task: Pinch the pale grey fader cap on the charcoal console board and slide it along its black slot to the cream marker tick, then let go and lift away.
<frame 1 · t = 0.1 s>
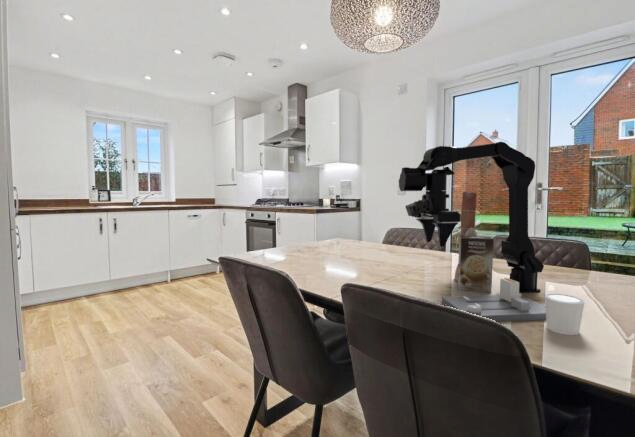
hand: (435, 244, 97), 15 cm above the table, tool pointing down, fingers open, 9 cm apart
console: (496, 310, 83), on the table
vase: (466, 279, 113), on the table
coffee box: (474, 288, 103), on the table
white cup: (562, 330, 71), on the table
fader: (509, 289, 86), point 4 cm above the table, slide at -5.0 cm
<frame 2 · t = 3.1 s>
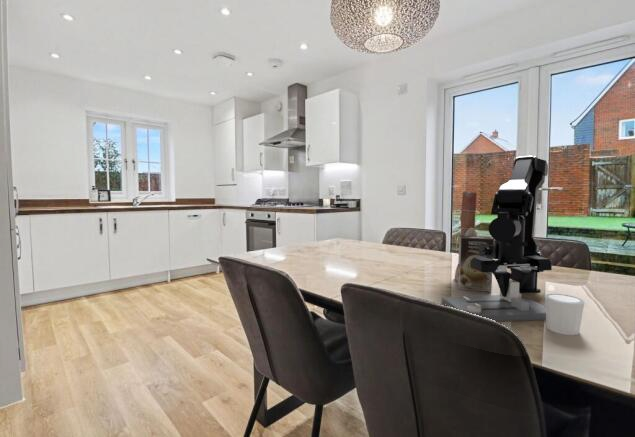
hand: (509, 296, 86), 3 cm above the table, tool pointing down, fingers closed on fader, 2 cm apart
fader: (509, 289, 86), point 4 cm above the table, slide at -5.0 cm, touching gripper
everything else where it was.
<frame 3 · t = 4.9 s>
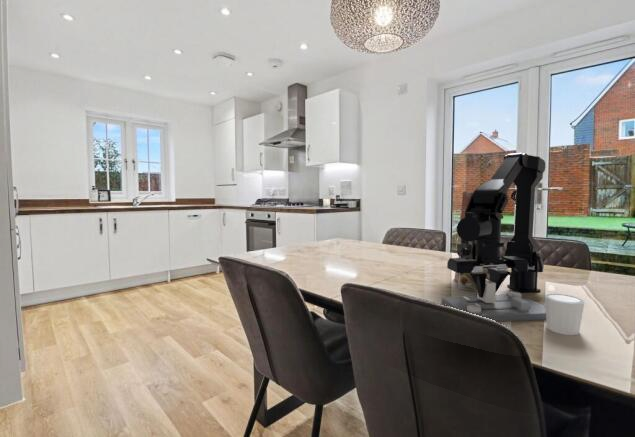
hand: (486, 297, 86), 3 cm above the table, tool pointing down, fingers closed on fader, 2 cm apart
fader: (486, 290, 85), point 4 cm above the table, slide at 1.3 cm, touching gripper
everything else where it was.
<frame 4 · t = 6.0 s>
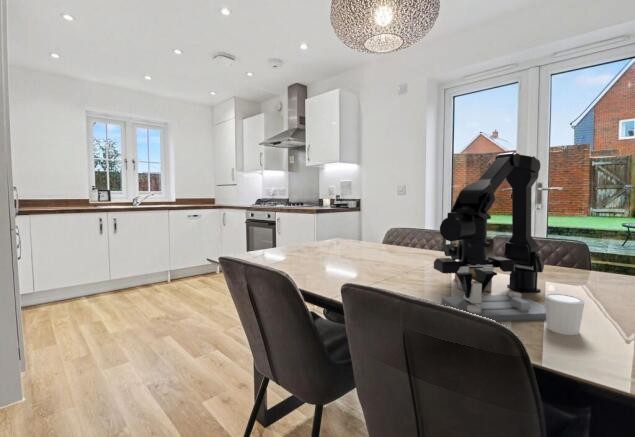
hand: (472, 297, 85), 3 cm above the table, tool pointing down, fingers closed on fader, 2 cm apart
fader: (472, 290, 85), point 4 cm above the table, slide at 4.9 cm, touching gripper
everything else where it was.
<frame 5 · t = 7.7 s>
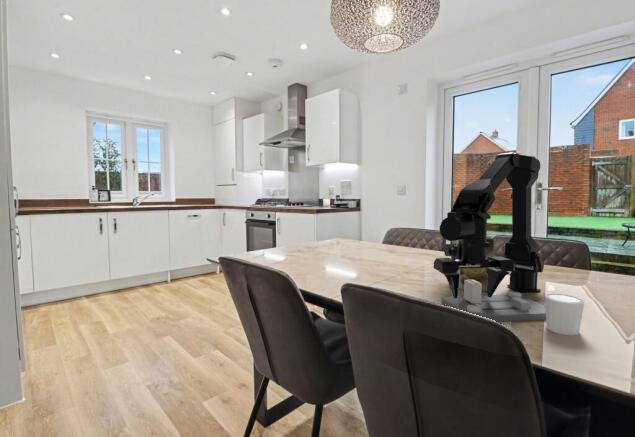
hand: (472, 297, 85), 3 cm above the table, tool pointing down, fingers open, 9 cm apart
fader: (472, 290, 85), point 4 cm above the table, slide at 5.0 cm
everything else where it was.
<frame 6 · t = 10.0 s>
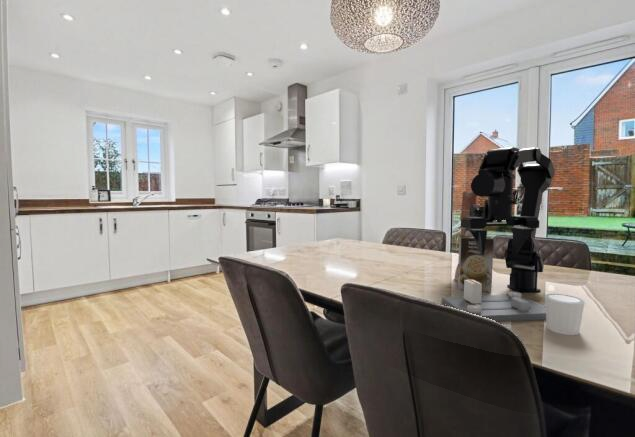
hand: (498, 254, 89), 13 cm above the table, tool pointing down, fingers open, 9 cm apart
nothing on the table moved.
at the end: fader slide at 5.0 cm; the gripper is holding nothing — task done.
